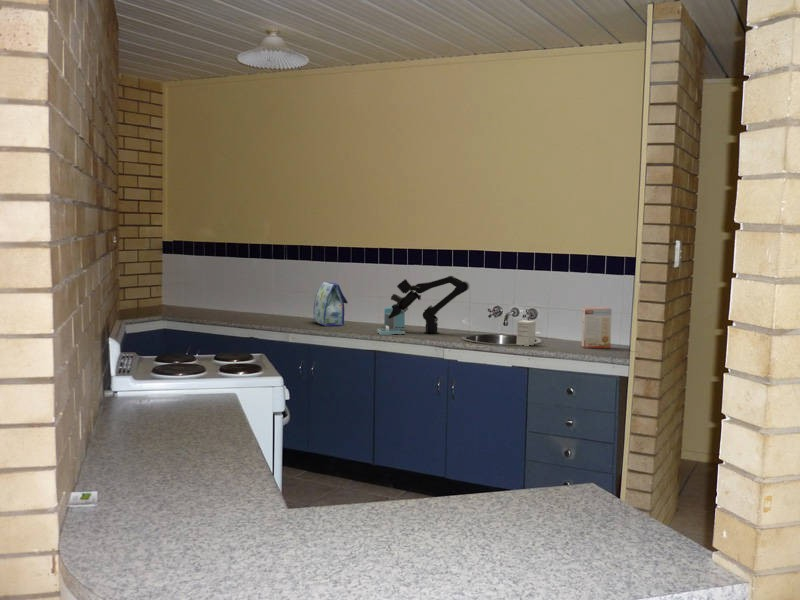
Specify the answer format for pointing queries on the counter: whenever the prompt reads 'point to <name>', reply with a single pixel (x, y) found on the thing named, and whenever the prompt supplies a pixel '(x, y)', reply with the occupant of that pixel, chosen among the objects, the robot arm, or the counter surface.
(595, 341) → the cracker box
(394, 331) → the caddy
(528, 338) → the white drawer cabinet
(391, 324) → the drive cartridge
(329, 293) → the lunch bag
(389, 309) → the teal arch frame
